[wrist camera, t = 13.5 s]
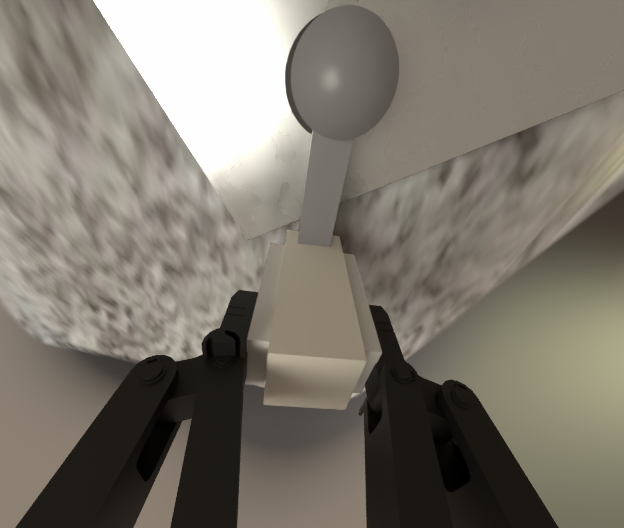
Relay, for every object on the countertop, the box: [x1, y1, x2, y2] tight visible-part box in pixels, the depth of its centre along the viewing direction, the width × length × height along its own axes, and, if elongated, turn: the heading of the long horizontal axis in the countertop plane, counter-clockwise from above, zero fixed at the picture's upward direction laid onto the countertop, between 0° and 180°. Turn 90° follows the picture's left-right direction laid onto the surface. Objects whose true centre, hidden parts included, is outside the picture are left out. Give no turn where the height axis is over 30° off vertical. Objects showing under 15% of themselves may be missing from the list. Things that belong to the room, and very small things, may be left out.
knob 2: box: [264, 5, 399, 410], centre depth 10 cm, size 13×4×9 cm, turn 171°
